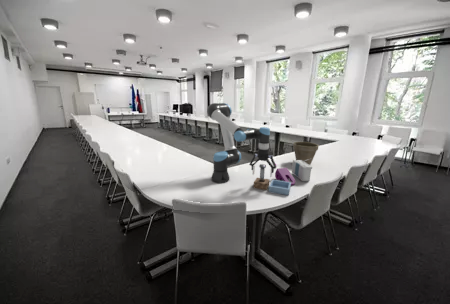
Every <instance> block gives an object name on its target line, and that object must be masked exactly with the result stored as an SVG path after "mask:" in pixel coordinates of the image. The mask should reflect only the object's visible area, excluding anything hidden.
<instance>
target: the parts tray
mask: <svg viewBox="0 0 450 304" xmlns="http://www.w3.org/2000/svg"><path fill="white" fill-rule="evenodd" d="M290 190H291V181H289V182H285V181H283V180H277V179H272V180H271V182H270V183H269V187H268V192H269V193H273V194H278V195H284V196H290V192H291V191H290Z"/></svg>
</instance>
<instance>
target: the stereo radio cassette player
mask: <svg viewBox="0 0 450 304" xmlns="http://www.w3.org/2000/svg"><path fill="white" fill-rule="evenodd" d="M308 160H309V159H308ZM305 161H307V160H305ZM291 164H292V165H291V173H292V175H294V176H295V177H297V178H298V179H299V180H301V182H310V181H311V171H312V169H313V166H312V165H311V164H310V165H308V164H307V163H305V162H304V161H302V160H296V159H294V160H292V163H291Z"/></svg>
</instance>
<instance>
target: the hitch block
mask: <svg viewBox="0 0 450 304" xmlns="http://www.w3.org/2000/svg"><path fill="white" fill-rule="evenodd" d="M269 185H270V179H269V178H264V182H260V177H256V178H255V179H254V181H253V189H257V190H262V191H267V190H269Z"/></svg>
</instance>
